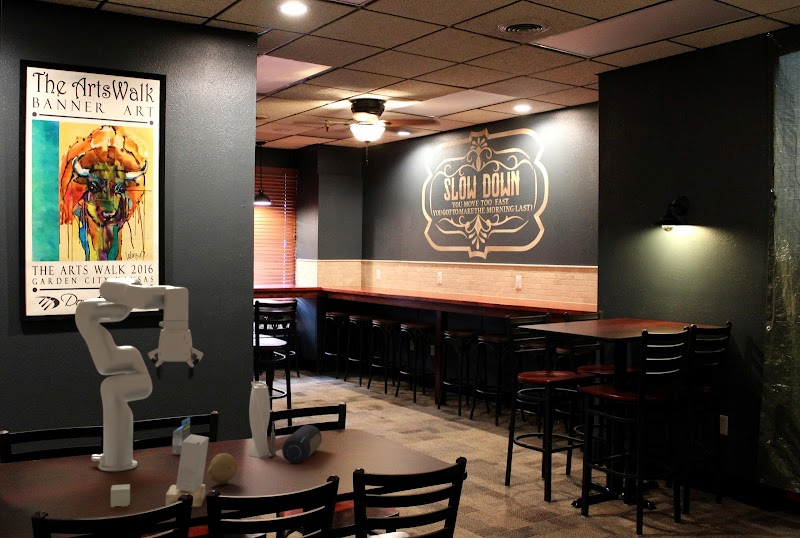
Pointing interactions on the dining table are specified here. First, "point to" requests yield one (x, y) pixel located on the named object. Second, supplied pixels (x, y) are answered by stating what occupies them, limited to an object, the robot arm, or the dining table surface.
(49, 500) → the dining table surface
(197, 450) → the skincare box
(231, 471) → the tan rounded lump
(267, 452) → the skyscraper
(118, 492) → the sage block
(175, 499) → the maple slab
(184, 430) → the label tape box
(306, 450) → the portable speaker
